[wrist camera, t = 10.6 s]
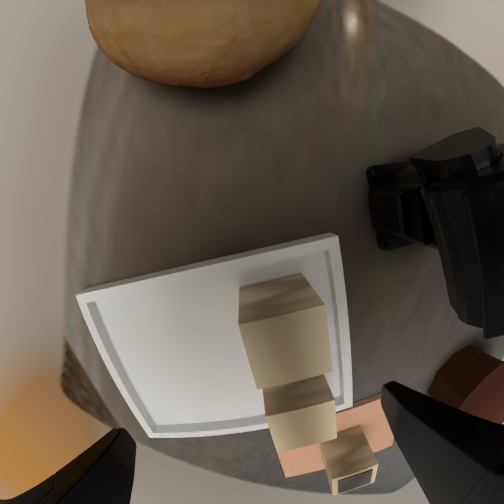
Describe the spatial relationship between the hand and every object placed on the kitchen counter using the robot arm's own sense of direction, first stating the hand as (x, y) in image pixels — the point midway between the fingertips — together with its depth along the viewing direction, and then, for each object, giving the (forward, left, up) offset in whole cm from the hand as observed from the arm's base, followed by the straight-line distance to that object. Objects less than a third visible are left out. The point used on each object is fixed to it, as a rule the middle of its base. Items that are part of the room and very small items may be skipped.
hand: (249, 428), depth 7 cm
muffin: (-22, +18, -13) cm, 31 cm away
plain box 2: (-2, +8, -12) cm, 15 cm away
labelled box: (-6, +20, -12) cm, 24 cm away
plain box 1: (-2, +2, -12) cm, 13 cm away
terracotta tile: (-6, +20, -13) cm, 25 cm away
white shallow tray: (+3, +5, -13) cm, 14 cm away
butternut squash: (-2, -20, -13) cm, 24 cm away
